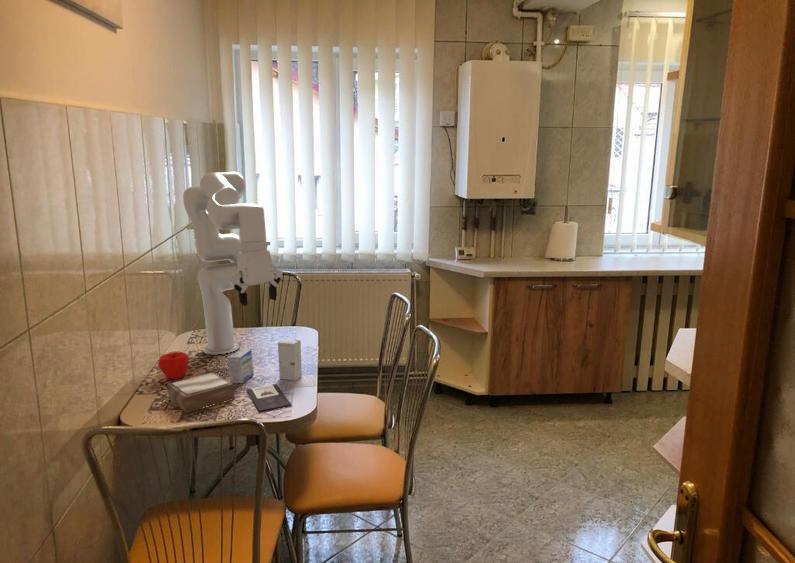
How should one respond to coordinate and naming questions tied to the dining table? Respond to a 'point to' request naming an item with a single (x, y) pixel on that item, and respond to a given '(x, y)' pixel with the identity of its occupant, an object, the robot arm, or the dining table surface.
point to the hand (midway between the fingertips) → (258, 302)
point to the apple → (174, 365)
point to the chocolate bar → (268, 398)
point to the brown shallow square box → (200, 391)
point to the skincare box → (289, 359)
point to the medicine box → (240, 366)
